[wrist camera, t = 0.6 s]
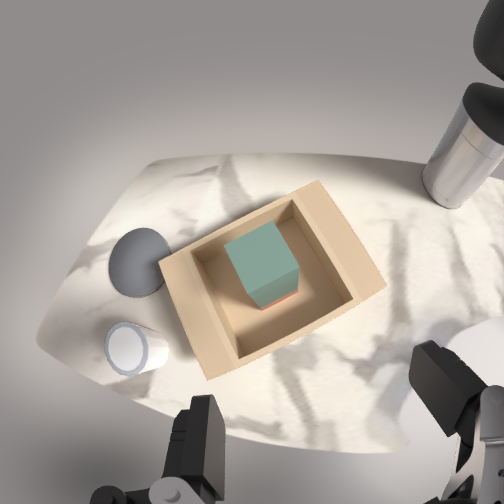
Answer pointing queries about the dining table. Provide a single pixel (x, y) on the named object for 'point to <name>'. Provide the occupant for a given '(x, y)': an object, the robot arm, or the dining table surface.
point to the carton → (285, 312)
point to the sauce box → (265, 265)
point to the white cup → (135, 349)
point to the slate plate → (138, 262)
